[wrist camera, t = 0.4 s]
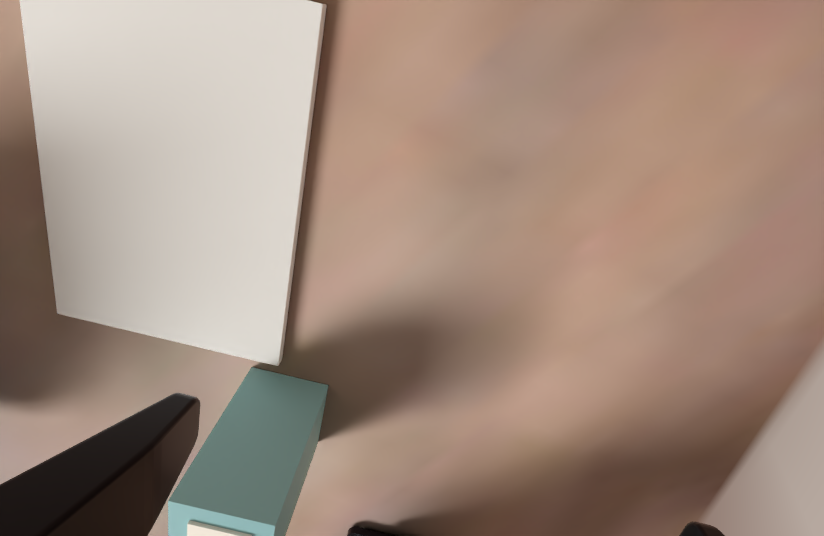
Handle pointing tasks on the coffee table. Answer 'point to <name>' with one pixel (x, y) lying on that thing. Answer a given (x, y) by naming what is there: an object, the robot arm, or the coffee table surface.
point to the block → (252, 460)
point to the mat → (175, 161)
